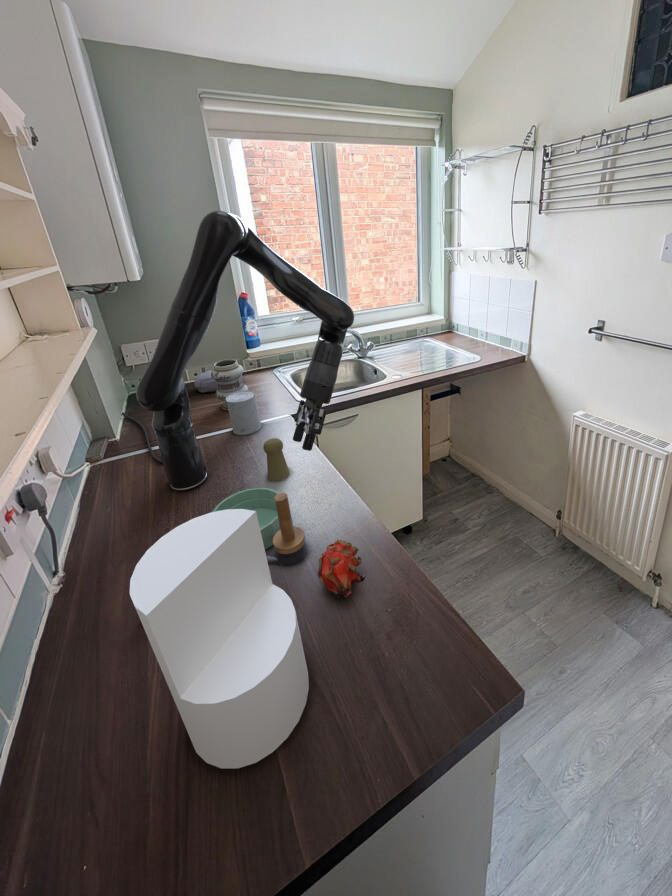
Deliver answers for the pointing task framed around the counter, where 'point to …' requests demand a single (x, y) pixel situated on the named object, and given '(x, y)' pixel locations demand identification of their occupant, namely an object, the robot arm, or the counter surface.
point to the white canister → (243, 412)
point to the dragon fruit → (339, 568)
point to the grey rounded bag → (206, 382)
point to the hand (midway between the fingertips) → (301, 445)
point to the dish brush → (288, 535)
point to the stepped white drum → (223, 636)
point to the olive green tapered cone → (275, 460)
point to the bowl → (256, 509)
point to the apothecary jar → (228, 379)
